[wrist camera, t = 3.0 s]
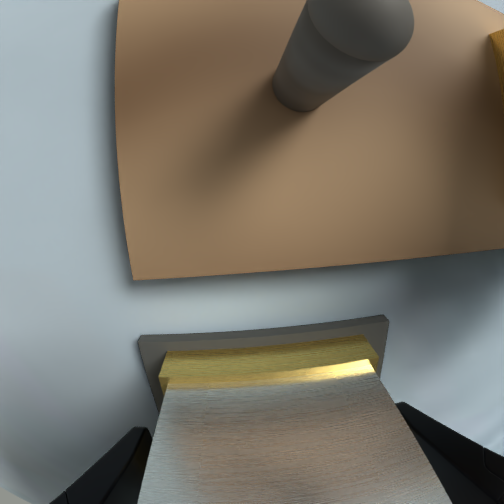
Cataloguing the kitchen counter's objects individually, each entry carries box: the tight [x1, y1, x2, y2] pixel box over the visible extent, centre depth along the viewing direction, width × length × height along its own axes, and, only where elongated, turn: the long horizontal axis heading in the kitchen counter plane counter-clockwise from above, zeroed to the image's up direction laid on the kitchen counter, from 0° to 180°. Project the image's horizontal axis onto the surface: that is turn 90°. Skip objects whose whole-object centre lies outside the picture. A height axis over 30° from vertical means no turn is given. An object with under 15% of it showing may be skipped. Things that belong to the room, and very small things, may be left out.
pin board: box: [115, 0, 504, 280], centre depth 4 cm, size 8×16×5 cm, turn 94°
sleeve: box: [137, 334, 452, 504], centre depth 6 cm, size 5×5×6 cm
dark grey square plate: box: [138, 315, 389, 414], centre depth 8 cm, size 7×7×2 cm
